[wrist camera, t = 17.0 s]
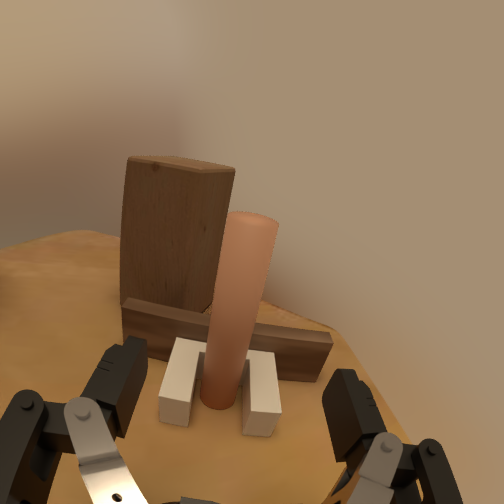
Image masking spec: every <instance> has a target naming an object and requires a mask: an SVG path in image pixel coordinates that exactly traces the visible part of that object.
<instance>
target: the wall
mask: <svg viewBox="0 0 504 504" xmlns="http://www.w3.org/2000/svg"><path fill="white" fill-rule="evenodd" d="M121 310H122V329H123V342H125V341H126V339H127V337H128V336H129V335H131V336H134V337H138V338H142V339H146V340H147V357H151V358H155V359H159V360H163V361H167V362H169V359H170V356H171V353H172V350H173V347H174V344H175V341H176V337H178V338H183V339H188V340H194V341H199V342H204V343H207V338H208V332H209V325H210V318H211V315H208V314H203V313H198V312H193V311H188V310H183V309H178V308H173V307H169V306H164V305H159V304H155V303H151V302H146V301H142V300H138V299H134V298H129V297H128V298H127V300H126V301H125V302H124V304H123V305H122V307H121ZM333 344H334V343H333V341H332V338H331V336H330V333H329V332H322V331H313V330H305V329H297V328H289V327H282V326H275V325H268V324H261V323H255V325H254V329H253V333H252V337H251V340H250V344H249V348H248V350H256V351H264V352H272V353H274V357H275V364H276V372H277V379H280V380H291V381H304V382H316V380H317V378H318V376H319V374H320V372H321V369H322V367H323V365H324V363H325V361H326V359H327V357H328V355H329V352H330V350H331V348H332V346H333Z"/></svg>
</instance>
